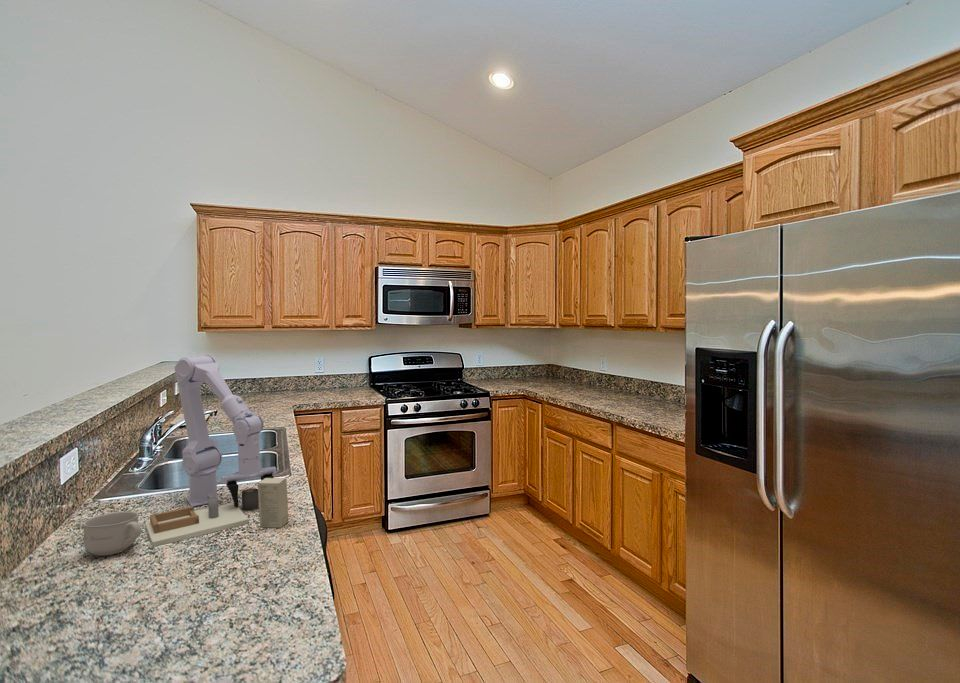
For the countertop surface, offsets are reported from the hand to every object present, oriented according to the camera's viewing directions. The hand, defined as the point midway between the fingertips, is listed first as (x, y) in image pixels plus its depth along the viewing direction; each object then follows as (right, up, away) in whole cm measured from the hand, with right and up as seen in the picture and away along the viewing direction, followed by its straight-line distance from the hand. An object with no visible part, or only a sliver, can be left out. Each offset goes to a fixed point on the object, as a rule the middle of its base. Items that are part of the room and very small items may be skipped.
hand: (250, 502), depth 148 cm
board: (-9, -2, -12) cm, 15 cm away
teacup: (-20, -3, -27) cm, 34 cm away
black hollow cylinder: (0, -1, 0) cm, 1 cm away
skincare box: (+12, -2, -12) cm, 17 cm away
